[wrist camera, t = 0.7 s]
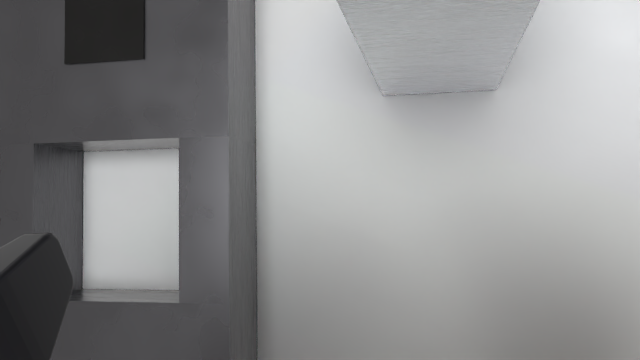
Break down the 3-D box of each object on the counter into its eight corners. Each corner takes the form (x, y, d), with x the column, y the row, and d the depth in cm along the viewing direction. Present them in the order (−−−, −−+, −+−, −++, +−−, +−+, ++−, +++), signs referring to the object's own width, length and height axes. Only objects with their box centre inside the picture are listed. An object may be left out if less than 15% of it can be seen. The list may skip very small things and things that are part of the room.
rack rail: (258, 489, 22) (229, 534, 19) (40, 472, 24) (-18, 511, 21) (254, -42, 23) (226, -80, 20) (46, -22, 25) (-9, -54, 22)
